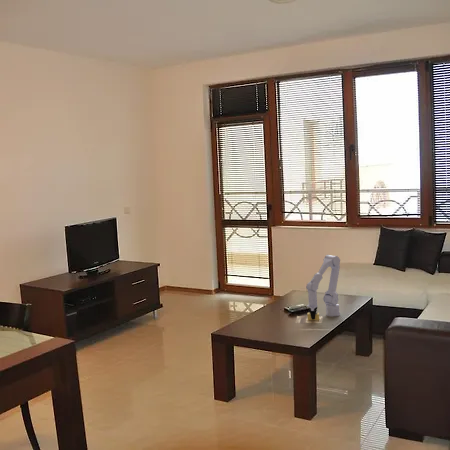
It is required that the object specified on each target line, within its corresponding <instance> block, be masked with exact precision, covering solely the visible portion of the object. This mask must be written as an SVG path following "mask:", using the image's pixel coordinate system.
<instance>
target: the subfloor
mask: <svg viewBox="0 0 450 450" xmlns="http://www.w3.org/2000/svg"><path fill="white" fill-rule="evenodd" d="M319 317H320V318H319V320H308V317H307V315H299V316H298V315H297V316H296V320H295V322H294V324H300V325H301V324H302V325H303V324H304V325H305V324H322V323H323V315H321V316H320V315H319Z"/></svg>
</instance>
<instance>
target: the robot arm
mask: <svg viewBox="0 0 450 450" xmlns="http://www.w3.org/2000/svg"><path fill="white" fill-rule="evenodd" d="M340 264H341V259H340V257H339V256H338V255H330V254H325V256H324V258H323V263H322V265H321V266H320V269H319V270H318V272H316V273H314V275H313V276H312V279H311V280H310V281H309V282H307V284H306V286H305V288H306V290H307V292H308V293H307V295H308V304H307V305H306V307H307V308H309V309H308V313H310V314H311V318H312V319H315V315H316V313H317V312H318V296H317V291H318V289H319V285H320V282H321V281H322V279H323V276H324V274H325V272H326V271H327V269H328V268H331V270H330V271H331V272H330V277H329V282H328V289H327V290H326V291H325V293H324V296H323V298H322V299H323V302H324V304H325V313H326V314H325V315H326V316H328V317H340V314H341V313H340V304H338V303H339V294H338V293H337V286H338V279H339V275H340V274H339V273H340V268H341V265H340Z"/></svg>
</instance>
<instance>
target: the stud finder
mask: <svg viewBox="0 0 450 450" xmlns="http://www.w3.org/2000/svg"><path fill="white" fill-rule="evenodd" d="M306 316H307V317H308V320H319V318H320V317H319V316H320V312H316V315H315V319H312V318H311V314H310V312H307V315H306Z"/></svg>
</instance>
